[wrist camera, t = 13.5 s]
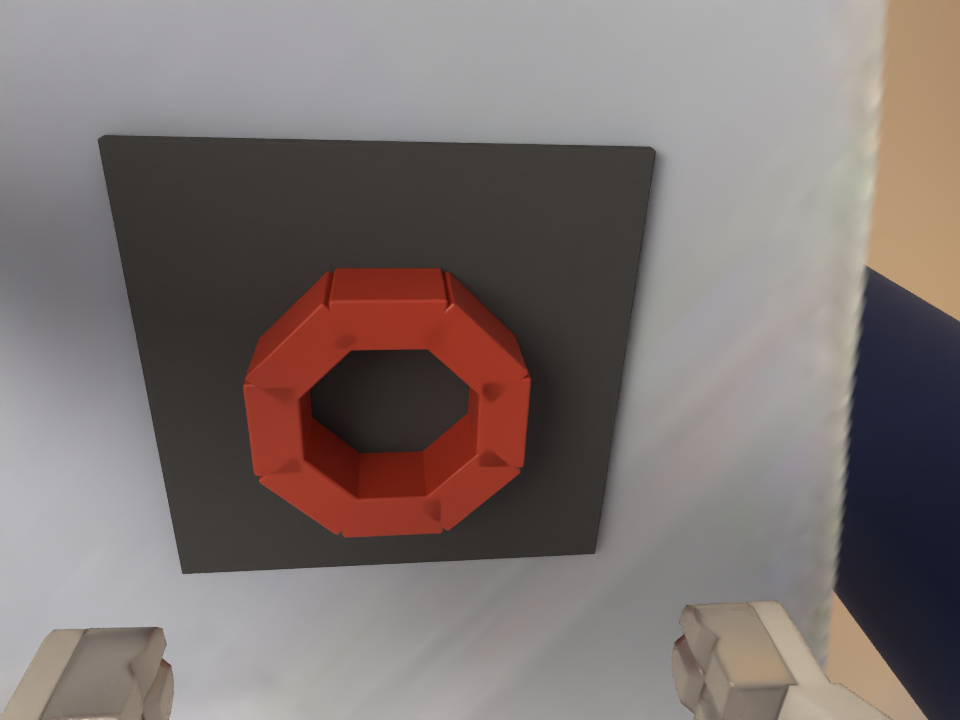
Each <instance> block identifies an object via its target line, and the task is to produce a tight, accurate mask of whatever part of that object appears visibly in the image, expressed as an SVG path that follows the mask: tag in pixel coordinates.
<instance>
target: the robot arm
mask: <svg viewBox="0 0 960 720" xmlns="http://www.w3.org/2000/svg"><path fill="white" fill-rule="evenodd" d="M679 623H680V625H681V627H682V630H683V632H684V634H683V635H682V636H681V637H680V638H679V639H678V640H677V641H676V642H675V643H674V648H673V654H672V671H673V678H674V683H675V687H676V690H677V693H678V696H679V698H680V701H681V703H682V704H683V705H684V706H685V707H686V708H688V709H689V710H690V711H691V712H692V713H694V714H695V716H694V720H893V719H891V718H890V717H889V716H887V715H886V714H884V713H883V712H881V711H880V710H878V709H877V708H875V707H874V706H873V705H871V704H870V703H868V702H867V701H865V700H864V699H862V698H861V697H859V696H858V695H857V694H855V693H854V692H852V691H851V690H849V689H848V688H847V687H845V686H844V685H842V684H841V683H831V682H830V680H829V679H828V677H827V676H826V674H825V673H824V671H823V669H822V668H821V666H820V665H819V663H818V661H817V660H816V658H815V657H814V655H813V653H812V652H811V650H810V649H809V647H808V645H807V644H806V642H805V641H804V639H803V638H802V636H801V634H800V633H799V631H798V630H797V628H796V626H795V625H794V623H793V622H792V620H791V618H790V617H789V615H788V614H787V612H786V611H785V609H784V607H783V606H782V605H781V604H780V603H778V602H777V601H760V602H746V603H743V602H736V603H717V604H697V605H686V607H685V608H684V609H683V610H682V614H681V618H680V622H679ZM166 645H167V644H166V640H165V636H164V632H163V629H162V628H158V627H136V628H89V629H54V630H53V631H52V632H51V633H50V634H49V635H47V636H46V637H45V638H44V640H43V642H42V643H41V645H40V647H39V649H38V651H37V652H36V654H35V656H34V658H33V660H32V662H31V663H30V665H29V667H28V669H27V671H26V672H25V674H24V676H23V678H22V680H21V681H20V683H19V685H18V687H17V689H16V690H15V692H14V694H13V696H12V698H11V699H10V701H9V703H8V705H7V707H6V708H5V710H4V712H3V714H2V716H1V717H0V720H169V717H170V714H171V708H172V701H173V694H174V682H173V673H172V668H171V665H170V664H169V663H167V662H166V661H165V660H164V659H162V656H163V653H164V651H165V648H166Z"/></svg>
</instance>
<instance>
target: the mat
mask: <svg viewBox="0 0 960 720" xmlns="http://www.w3.org/2000/svg"><path fill="white" fill-rule="evenodd" d="M98 144H99V149H100V154H101V159H102V165H103V170H104V175H105V180H106V185H107V190H108V195H109V200H110V205H111V211H112V216H113V221H114V226H115V231H116V236H117V241H118V246H119V252H120V257H121V262H122V267H123V272H124V277H125V282H126V287H127V293H128V298H129V303H130V308H131V313H132V318H133V323H134V328H135V333H136V339H137V344H138V349H139V354H140V359H141V364H142V369H143V374H144V380H145V385H146V390H147V395H148V400H149V405H150V410H151V415H152V420H153V426H154V431H155V436H156V441H157V446H158V451H159V456H160V461H161V467H162V472H163V477H164V482H165V487H166V492H167V497H168V502H169V508H170V513H171V518H172V523H173V528H174V533H175V538H176V543H177V548H178V554H179V559H180V564H181V569H182V573H183V574H192V573H213V572H233V571H254V570H274V569H295V568H315V567H336V566H357V565H377V564H398V563H418V562H439V561H459V560H480V559H500V558H521V557H541V556H562V555H582V554H595V549H596V543H597V536H598V530H599V523H600V516H601V510H602V503H603V496H604V490H605V483H606V477H607V470H608V463H609V457H610V450H611V444H612V437H613V430H614V424H615V417H616V411H617V404H618V397H619V391H620V384H621V378H622V371H623V364H624V358H625V351H626V345H627V338H628V331H629V325H630V318H631V311H632V305H633V298H634V292H635V285H636V278H637V272H638V265H639V259H640V252H641V245H642V239H643V232H644V226H645V219H646V212H647V206H648V199H649V193H650V186H651V179H652V173H653V166H654V160H655V153H656V151H655V150H654V149H653V148H651V147H634V146H587V145H539V144H492V143H445V142H398V141H350V140H303V139H256V138H209V137H162V136H114V135H104V136H102V137H100V138H99V139H98ZM337 268H439V269H441V270H442V274H444V273H445V272H447V271H448V272H450V273H451V274H452V275H453V276H454V277H455V278H456V279H457V280H458V281H459V282H460V283H461V284H462V285H463V286H464V287H465V288H466V289H467V290H469V291H470V292H471V293H472V294H473V295H474V296H475V297H476V298H477V299H478V300H479V301H480V302H481V303H482V304H483V305H484V306H485V307H486V308H487V309H488V310H489V311H490V312H491V313H492V314H493V315H494V316H495V317H497V318H498V319H499V320H500V321H501V322H502V323H503V324H504V325H505V326H506V327H507V328H508V329H509V330H510V331H511V332H512V333H513V334H514V335H515V337H516V340H517V343H518V345H519V348H520V351H521V354H522V356H523V359H524V362H525V365H526V367H527V370H528V373H529V376H530V378H531V387H530V399H529V411H528V423H527V435H526V446H525V458H524V465H523V467H519V468H520V474H518V475H517V476H516V477H515V478H513V479H512V480H511V481H510V482H508V483H507V484H506V485H505V486H503V487H502V488H501V489H500V490H499V491H497V492H496V493H495V494H494V495H492V496H491V497H490V498H489V499H487V500H486V501H485V502H484V503H482V504H481V505H480V506H479V507H477V508H476V509H475V510H474V511H472V512H471V513H470V514H469V515H468V516H466V517H465V518H464V519H463V520H461V521H460V522H459V523H458V524H456V525H455V526H454V527H453V528H451V529H450V530H449V531H447V530H446V529H444V528H443V531H442V533H435V534H413V535H390V536H368V537H346V538H345V537H343V535H342V532H341V533H339V534H337V535H336V534H334V533H332V532H331V531H330V530H328V529H327V528H325V527H324V526H322V525H321V524H319V523H318V522H316V521H315V520H313V519H312V518H311V517H309V516H308V515H306V514H305V513H303V512H302V511H300V510H299V509H297V508H296V507H295V506H293V505H292V504H290V503H289V502H287V501H286V500H284V499H283V498H281V497H280V496H278V495H277V494H276V493H274V492H273V491H271V490H270V489H268V488H267V487H265V486H264V485H262V484H261V483H260V482H259V476H256V475H255V474H254V471H253V463H252V455H251V447H250V439H249V431H248V423H247V415H246V407H245V400H244V392H243V384H244V381H245V377H246V374H247V371H248V368H249V366H250V363H251V360H252V357H253V354H254V351H255V349H256V346H257V343H258V340H259V338H260V337H261V336H262V335H263V334H264V333H265V332H266V331H267V330H268V329H269V328H270V327H271V326H272V325H273V324H274V323H275V322H276V321H277V320H278V319H279V318H280V317H281V316H282V315H283V314H284V313H285V312H286V311H287V310H288V309H289V308H290V307H292V306H293V305H294V304H295V303H296V302H297V301H298V300H299V299H300V298H301V297H302V296H303V295H304V294H305V293H306V292H307V291H308V290H309V289H310V288H311V287H312V286H313V285H314V284H315V283H316V282H317V281H318V280H319V279H320V278H321V277H322V276H323V275H324V274H325V273H326V272H328V271H329V272H331V273H332V274H333V275H334V271H335V269H337ZM310 396H311V409H312V418H314V419H315V420H316V421H318V422H319V423H320V424H322V425H323V426H324V427H326V428H327V429H328V430H330V431H331V432H332V433H334V434H335V435H336V436H337V437H339V438H340V439H341V440H343V441H344V442H345V443H347V444H348V445H349V446H351V447H352V448H353V449H355V450H356V451H357V452H359V453H385V452H417V451H424V450H425V449H426V448H427V447H428V446H430V445H431V444H432V443H433V442H434V441H435V440H437V439H438V438H439V437H440V436H441V435H443V434H444V433H445V432H446V431H447V430H448V429H450V428H451V427H452V426H453V425H454V424H455V423H457V422H458V421H459V420H460V419H461V418H462V417H464V416H465V415H466V414H467V413H468V402H469V386H468V385H467V384H466V383H465V382H464V381H463V380H462V379H461V378H459V377H458V376H457V375H456V374H455V373H454V372H453V371H451V370H450V369H449V368H448V367H447V366H446V365H445V364H444V363H442V362H441V361H440V360H439V359H438V358H437V357H436V356H435V355H433V354H432V353H431V352H430V351H429V350H428V349H420V350H351V351H350V352H349V353H348V354H347V355H346V356H345V357H344V358H343V359H342V360H341V361H340V362H338V363H337V364H336V365H335V366H334V367H333V368H332V369H331V370H330V371H329V372H328V373H327V374H326V375H325V376H323V377H322V378H321V379H320V380H319V381H318V382H317V383H316V384H315V385H314V386H313V387H312V388H311V389H310Z"/></svg>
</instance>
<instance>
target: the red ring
mask: <svg viewBox="0 0 960 720" xmlns="http://www.w3.org/2000/svg"><path fill="white" fill-rule="evenodd" d="M420 349H428V350H429V351H430V352H431V353H432V354H433V355H435V356H436V357H437V358H438V359H439V360H440V361H441V362H442V363H444V364H445V365H446V366H447V367H448V368H449V369H450V370H451V371H453V372H454V373H455V374H456V375H457V376H458V377H459V378H461V379H462V380H463V381H464V382H465V383H466V384H467V385H468V386H469V402H468V413H467V414H466V415H465V416H464V417H462V418H461V419H460V420H459V421H458V422H457V423H455V424H454V425H453V426H452V427H451V428H450V429H448V430H447V431H446V432H445V433H444V434H443V435H441V436H440V437H439V438H438V439H437V440H435V441H434V442H433V443H432V444H431V445H430V446H428V447H427V448H426V449H425V450H424V451H417V452H385V453H359V452H357V451H356V450H355V449H353V448H352V447H351V446H349V445H348V444H347V443H345V442H344V441H343V440H341V439H340V438H339V437H337V436H336V435H335V434H334V433H332V432H331V431H330V430H328V429H327V428H326V427H324V426H323V425H322V424H320V423H319V422H318V421H316V420H315V419H314V418H312V409H311V396H310V389H311V388H312V387H313V386H314V385H315V384H316V383H317V382H318V381H319V380H320V379H321V378H322V377H323V376H325V375H326V374H327V373H328V372H329V371H330V370H331V369H332V368H333V367H334V366H335V365H336V364H337V363H338V362H340V361H341V360H342V359H343V358H344V357H345V356H346V355H347V354H348V353H349V352H350V351H351V350H420ZM530 387H531V378H530V376H529V373H528V370H527V367H526V365H525V362H524V359H523V356H522V354H521V351H520V348H519V345H518V343H517V340H516V337H515V335H514V334H513V333H512V332H511V331H510V330H509V329H508V328H507V327H506V326H505V325H504V324H503V323H502V322H501V321H500V320H499V319H498V318H497V317H495V316H494V315H493V314H492V313H491V312H490V311H489V310H488V309H487V308H486V307H485V306H484V305H483V304H482V303H481V302H480V301H479V300H478V299H477V298H476V297H475V296H474V295H473V294H472V293H471V292H470V291H469V290H467V289H466V288H465V287H464V286H463V285H462V284H461V283H460V282H459V281H458V280H457V279H456V278H455V277H454V276H453V275H452V274H451V273H450V272H448V271H447V272H445V273H444V274H442V270H441V269H439V268H337V269H335V271H334V275H333V274H332V273H331V272H329V271H328V272H326V273H325V274H324V275H323V276H322V277H321V278H320V279H319V280H318V281H317V282H316V283H315V284H314V285H313V286H312V287H311V288H310V289H309V290H308V291H307V292H306V293H305V294H304V295H303V296H302V297H301V298H300V299H299V300H298V301H297V302H296V303H295V304H294V305H293V306H292V307H290V308H289V309H288V310H287V311H286V312H285V313H284V314H283V315H282V316H281V317H280V318H279V319H278V320H277V321H276V322H275V323H274V324H273V325H272V326H271V327H270V328H269V329H268V330H267V331H266V332H265V333H264V334H263V335H262V336H261V337H260V338H259V340H258V343H257V346H256V349H255V351H254V354H253V357H252V360H251V363H250V366H249V368H248V371H247V374H246V377H245V381H244V384H243V392H244V400H245V407H246V415H247V423H248V431H249V439H250V447H251V455H252V463H253V471H254V474H255V475H256V476H259V482H260V483H261V484H262V485H264V486H265V487H267V488H268V489H270V490H271V491H273V492H274V493H276V494H277V495H278V496H280V497H281V498H283V499H284V500H286V501H287V502H289V503H290V504H292V505H293V506H295V507H296V508H297V509H299V510H300V511H302V512H303V513H305V514H306V515H308V516H309V517H311V518H312V519H313V520H315V521H316V522H318V523H319V524H321V525H322V526H324V527H325V528H327V529H328V530H330V531H331V532H332V533H334V534H336V535H337V534H339V533H341V532H342V535H343V537H345V538H346V537H368V536H390V535H413V534H435V533H442V531H443V528H444V529H446V530H447V531H449V530H450V529H451V528H453V527H454V526H455V525H456V524H458V523H459V522H460V521H461V520H463V519H464V518H465V517H466V516H468V515H469V514H470V513H471V512H472V511H474V510H475V509H476V508H477V507H479V506H480V505H481V504H482V503H484V502H485V501H486V500H487V499H489V498H490V497H491V496H492V495H494V494H495V493H496V492H497V491H499V490H500V489H501V488H502V487H503V486H505V485H506V484H507V483H508V482H510V481H511V480H512V479H513V478H515V477H516V476H517V475H518V474H520V468H519V467H523V465H524V458H525V446H526V435H527V423H528V411H529V399H530Z"/></svg>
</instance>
